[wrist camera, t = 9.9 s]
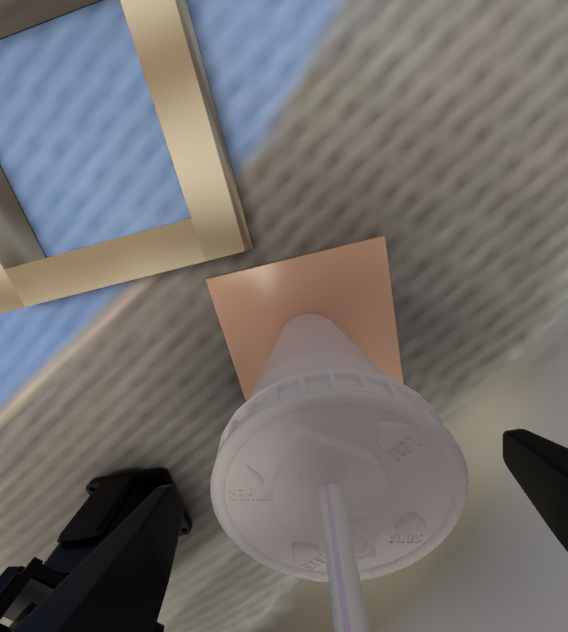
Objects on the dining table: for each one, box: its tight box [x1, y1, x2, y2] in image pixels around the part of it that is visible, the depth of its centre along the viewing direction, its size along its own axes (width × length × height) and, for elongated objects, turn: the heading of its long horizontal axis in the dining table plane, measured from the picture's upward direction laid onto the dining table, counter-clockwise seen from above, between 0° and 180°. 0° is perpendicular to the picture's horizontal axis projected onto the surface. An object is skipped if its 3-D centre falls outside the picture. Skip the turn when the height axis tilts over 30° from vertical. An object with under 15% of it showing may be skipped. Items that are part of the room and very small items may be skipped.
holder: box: [0, 0, 253, 313], centre depth 12 cm, size 14×14×2 cm
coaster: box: [206, 236, 404, 401], centre depth 16 cm, size 10×10×1 cm
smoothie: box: [210, 313, 469, 632], centre depth 9 cm, size 6×6×14 cm
